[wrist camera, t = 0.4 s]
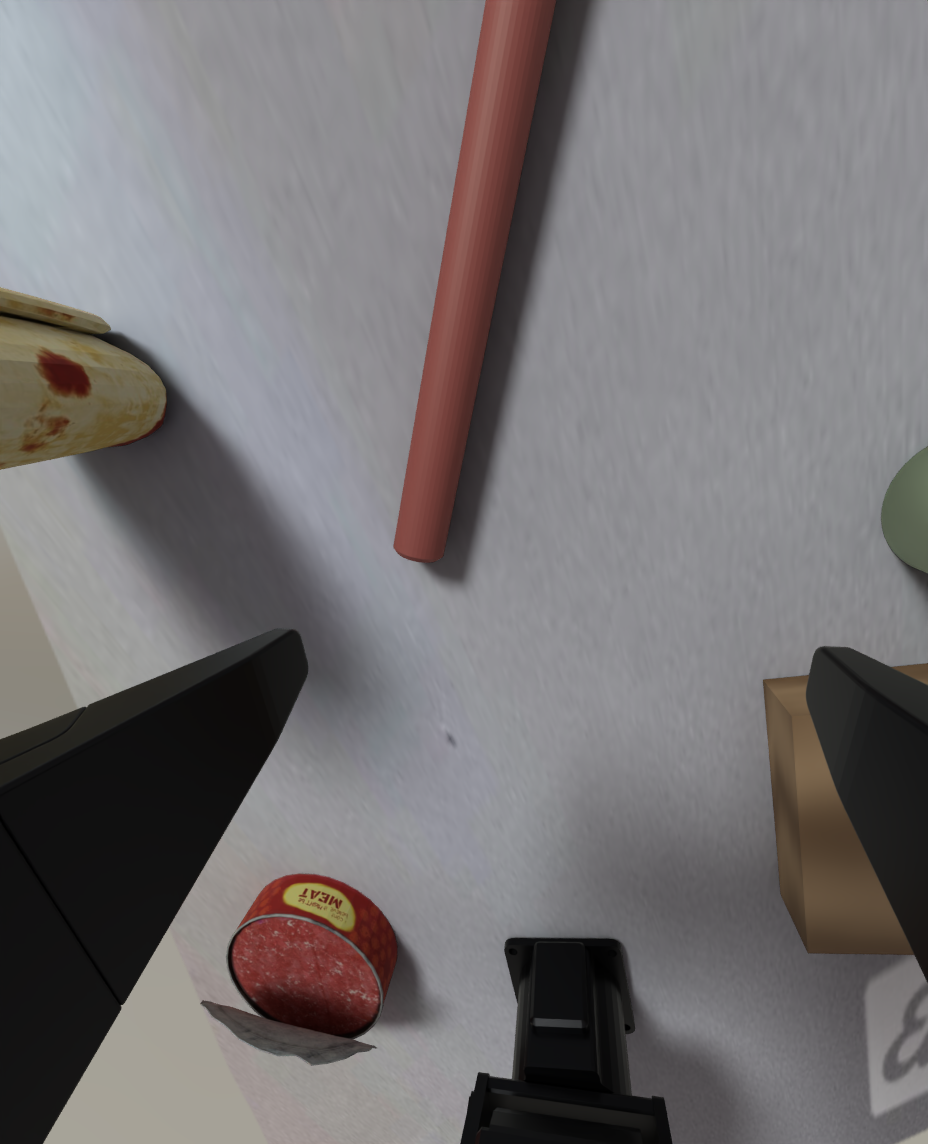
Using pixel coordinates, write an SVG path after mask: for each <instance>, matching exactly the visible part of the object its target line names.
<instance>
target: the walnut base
mask: <svg viewBox="0 0 928 1144" xmlns="http://www.w3.org/2000/svg"><path fill="white" fill-rule="evenodd" d="M891 668H893V669H895V670H898V671H900V672H902V673H904V674H906V675H908V676H910V677H912V678H914V679H916V680H918V681H921V682H923V683H925V684H927V685H928V663H927V664H917V665H907V666H897V667H891ZM808 678H809V675H806V676H796V677H786V678H776V679H766V680H763V686H764V698H765V710H766V722H767V734H768V746H769V758H770V771H771V783H772V795H773V807H774V819H775V831H776V843H777V856H778V868H779V880H780V892H781V896H782V898H783V900H784V903H785V905H786V907H787V909H788V911H789V913H790V916H791V918H792V920H793V922H794V924H795V926H796V928H797V931H798V933H799V935H800V937H801V939H802V941H803V944H804V946H805V948H806V950H807V952H808V953H825V954H897V955H914V953H913V951H912V949H911V947H910V945H909V943H908V940H907V938H906V936H905V934H904V932H903V930H902V928H901V926H900V924H899V922H898V920H897V918H896V915H895V913H894V911H893V909H892V907H891V905H890V903H889V901H888V899H887V897H886V895H885V892H884V890H883V888H882V886H881V884H880V882H879V880H878V878H877V876H876V874H875V872H874V870H873V867H872V865H871V863H870V861H869V859H868V857H867V855H866V853H865V851H864V849H863V847H862V844H861V842H860V840H859V838H858V836H857V834H856V832H855V830H854V828H853V826H852V824H851V821H850V819H849V817H848V815H847V813H846V811H845V809H844V807H843V805H842V802H841V800H840V798H839V796H838V793H837V791H836V788H835V785H834V783H833V780H832V777H831V774H830V771H829V768H828V765H827V763H826V760H825V757H824V754H823V751H822V748H821V745H820V742H819V739H818V736H817V733H816V730H815V727H814V724H813V721H812V718H811V715H810V712H809V709H808V706H807V702H806V687H807V683H808Z"/></svg>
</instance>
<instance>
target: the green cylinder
mask: <svg viewBox="0 0 928 1144" xmlns="http://www.w3.org/2000/svg"><path fill="white" fill-rule="evenodd" d="M881 522H882V529H883V533H884V536H885V539H886V541H887V543H888V545H889V546H890V548H891V549H892V551H893V552H894V553H895V554H896V555H897V556H898V557H899V558H900V559H901V560H902V561H904V562H905V563H906V564H908V565H910V566H912V567H913V568H916V569H918V570H920V571H923V572H925V573H928V446H927V447H926V448H924V449H923V450H921V451H920V452H919V453H917V454H916V455H915V456H913V457H912V458H911V459H910V460H909V461H908V462H907V463H906V464H905V465H904V466H903V467H902V468H901V469H900V471H899V472H898V473H897V475H896V476H895V477H894V479H893V480H892V482H891V484H890V486H889V488H888V490H887V492H886V495H885V498H884V501H883V506H882V513H881Z"/></svg>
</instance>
